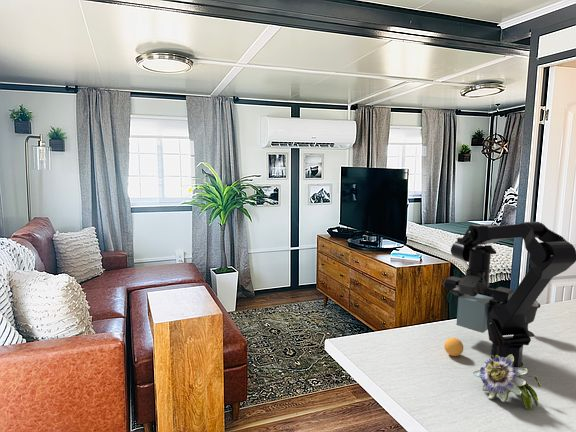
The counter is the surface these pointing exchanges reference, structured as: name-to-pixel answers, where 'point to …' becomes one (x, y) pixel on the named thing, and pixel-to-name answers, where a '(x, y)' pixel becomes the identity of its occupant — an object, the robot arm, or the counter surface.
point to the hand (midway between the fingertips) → (475, 315)
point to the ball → (453, 346)
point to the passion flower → (506, 380)
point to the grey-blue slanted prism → (473, 312)
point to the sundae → (531, 316)
